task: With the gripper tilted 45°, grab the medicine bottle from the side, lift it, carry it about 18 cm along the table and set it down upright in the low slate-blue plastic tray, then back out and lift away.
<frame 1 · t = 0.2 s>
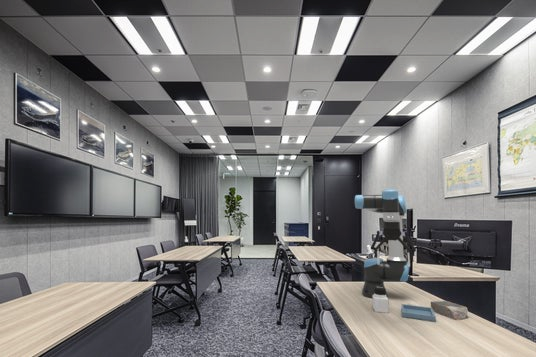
hand: (393, 265, 138), 28 cm above the table, tool pointing down, fingers open, 13 cm apart
medicine bottle: (380, 310, 156), on the table
geological specimen: (450, 315, 151), on the table
tray: (417, 314, 149), on the table
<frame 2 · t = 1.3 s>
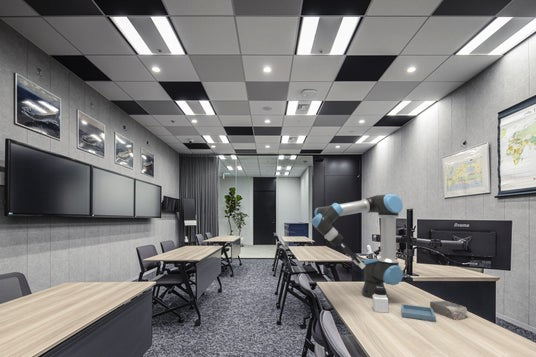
hand: (361, 265, 159), 24 cm above the table, tool tilted 45°, fingers open, 13 cm apart
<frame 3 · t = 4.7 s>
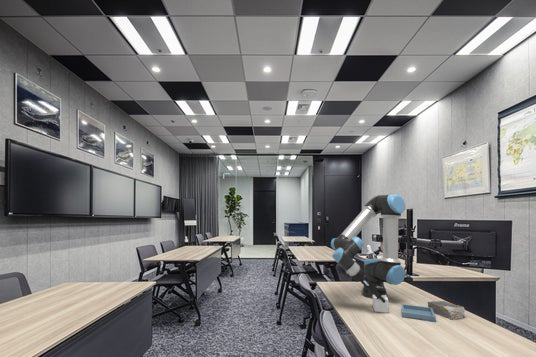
hand: (387, 303, 155), 4 cm above the table, tool tilted 45°, fingers closed on medicine bottle, 7 cm apart
medicine bottle: (380, 310, 156), on the table, touching gripper
geological specimen: (447, 315, 151), on the table
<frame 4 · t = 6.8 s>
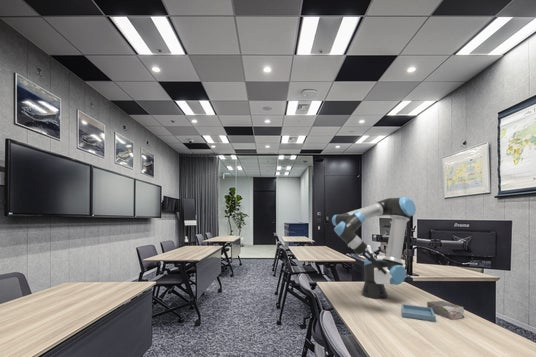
hand: (388, 276, 156), 18 cm above the table, tool tilted 45°, fingers closed on medicine bottle, 7 cm apart
medicine bottle: (382, 283, 156), point 15 cm above the table, touching gripper
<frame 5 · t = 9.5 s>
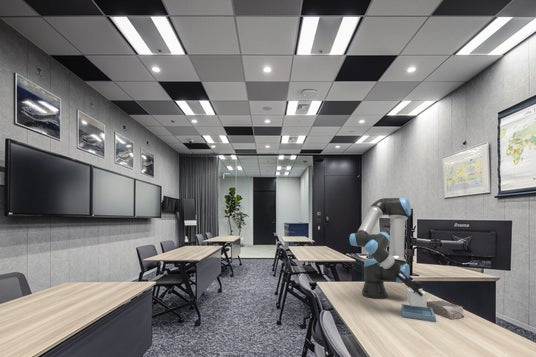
hand: (423, 298, 149), 9 cm above the table, tool tilted 45°, fingers closed on medicine bottle, 7 cm apart
medicine bottle: (416, 305, 149), point 5 cm above the table, touching gripper
when the fingers open (6 cm above the table, at t = 10.6 s): medicine bottle drops 1 cm, resting on tray.
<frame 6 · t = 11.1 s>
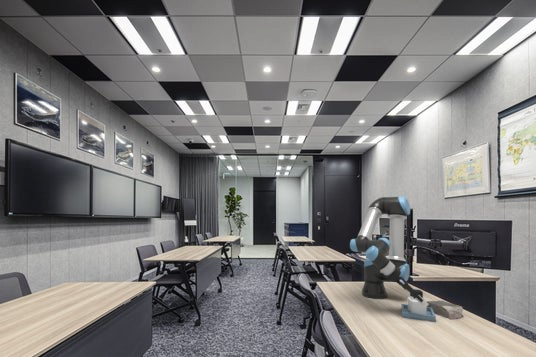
hand: (421, 301, 150), 7 cm above the table, tool tilted 45°, fingers open, 13 cm apart
medicine bottle: (417, 313, 150), resting on tray
everything else where it was.
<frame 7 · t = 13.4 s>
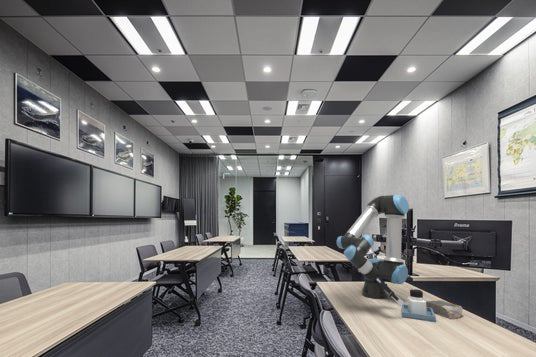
hand: (398, 300, 151), 7 cm above the table, tool tilted 45°, fingers open, 13 cm apart
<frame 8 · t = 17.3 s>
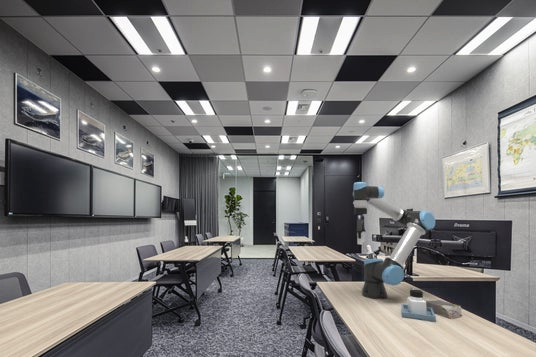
hand: (361, 243, 170), 35 cm above the table, tool pointing down, fingers open, 13 cm apart
at the end: medicine bottle inside the target area on the tray (0.2 cm from its centre), point 0.4 cm above the tray's base; medicine bottle tilted 0°; the gripper is holding nothing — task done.
